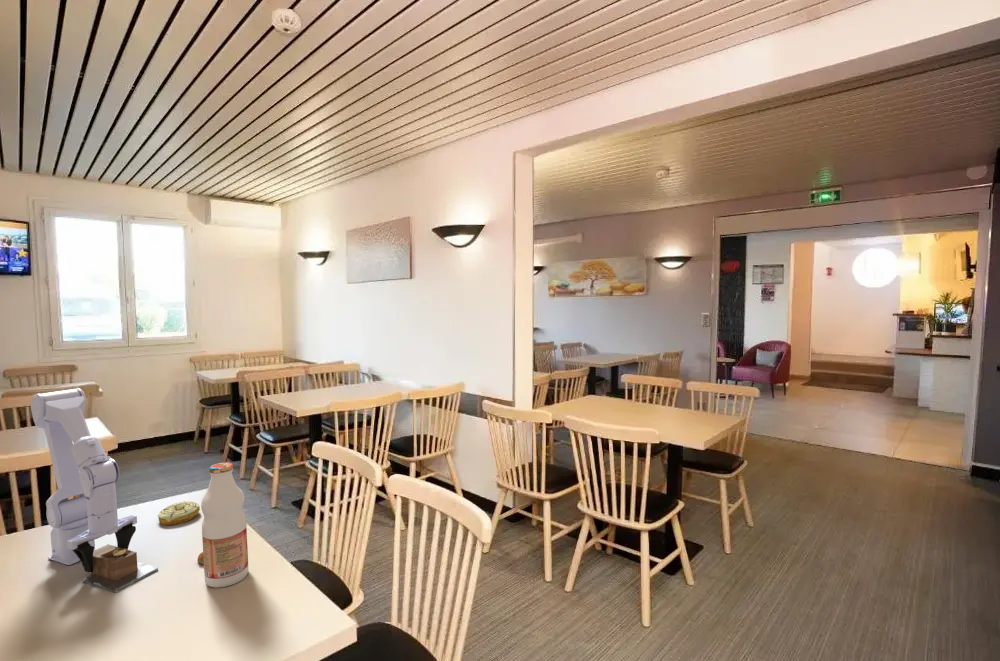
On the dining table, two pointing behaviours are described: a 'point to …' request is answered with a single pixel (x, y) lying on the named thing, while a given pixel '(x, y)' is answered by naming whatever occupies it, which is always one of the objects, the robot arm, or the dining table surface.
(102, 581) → the hook plate
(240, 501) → the fruit juice
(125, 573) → the block
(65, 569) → the dining table surface
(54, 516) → the robot arm
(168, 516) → the decorated donut
